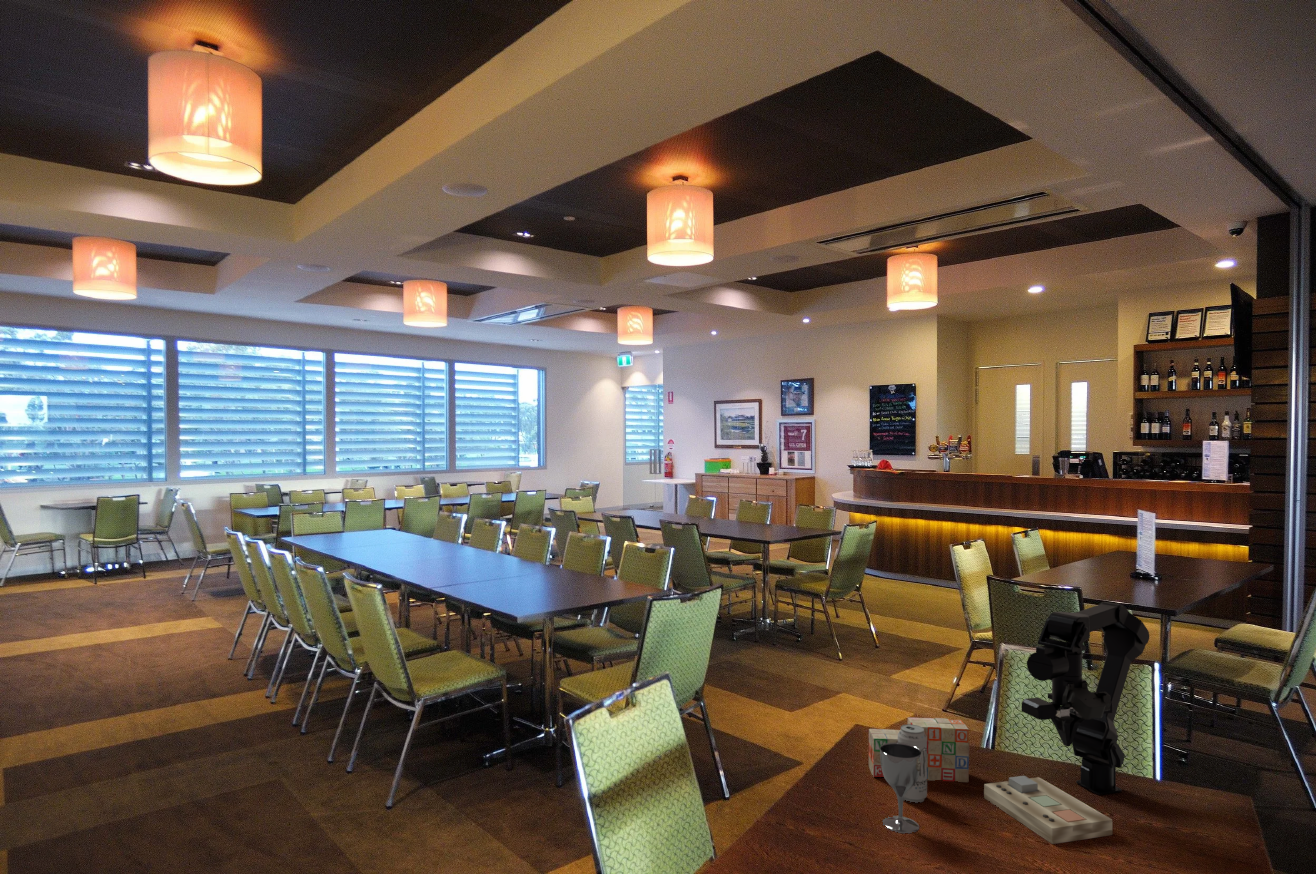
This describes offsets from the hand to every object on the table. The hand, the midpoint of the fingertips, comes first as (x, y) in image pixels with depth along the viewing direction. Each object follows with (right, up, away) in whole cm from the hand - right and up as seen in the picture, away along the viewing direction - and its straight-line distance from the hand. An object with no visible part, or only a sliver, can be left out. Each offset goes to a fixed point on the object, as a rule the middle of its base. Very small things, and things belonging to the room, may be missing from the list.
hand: (1066, 745), depth 168 cm
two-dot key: (-6, -11, -12) cm, 18 cm away
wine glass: (-39, -12, -10) cm, 42 cm away
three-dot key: (-9, -9, 0) cm, 13 cm away
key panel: (-8, -12, -6) cm, 16 cm away
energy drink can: (-32, -12, +2) cm, 35 cm away
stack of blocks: (-27, -12, +14) cm, 33 cm away
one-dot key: (-8, -11, -6) cm, 15 cm away
